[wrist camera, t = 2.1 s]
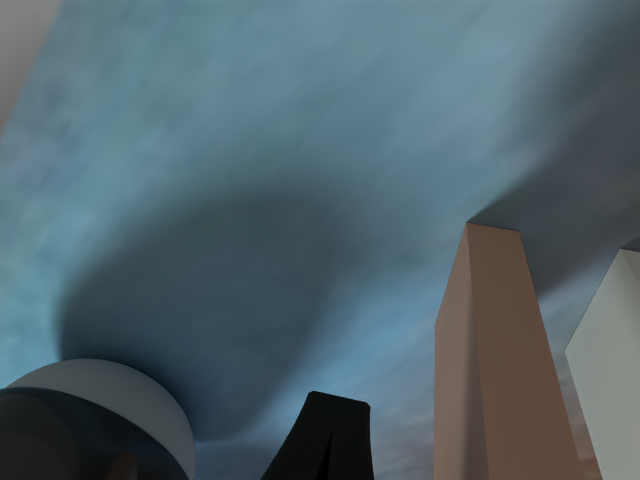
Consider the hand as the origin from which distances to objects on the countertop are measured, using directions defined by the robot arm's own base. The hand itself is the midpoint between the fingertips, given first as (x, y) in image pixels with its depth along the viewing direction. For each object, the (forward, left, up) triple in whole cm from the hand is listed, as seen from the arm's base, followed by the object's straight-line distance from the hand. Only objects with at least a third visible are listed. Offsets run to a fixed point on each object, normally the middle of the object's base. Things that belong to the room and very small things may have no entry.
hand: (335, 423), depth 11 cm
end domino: (-2, -3, -6) cm, 7 cm away
